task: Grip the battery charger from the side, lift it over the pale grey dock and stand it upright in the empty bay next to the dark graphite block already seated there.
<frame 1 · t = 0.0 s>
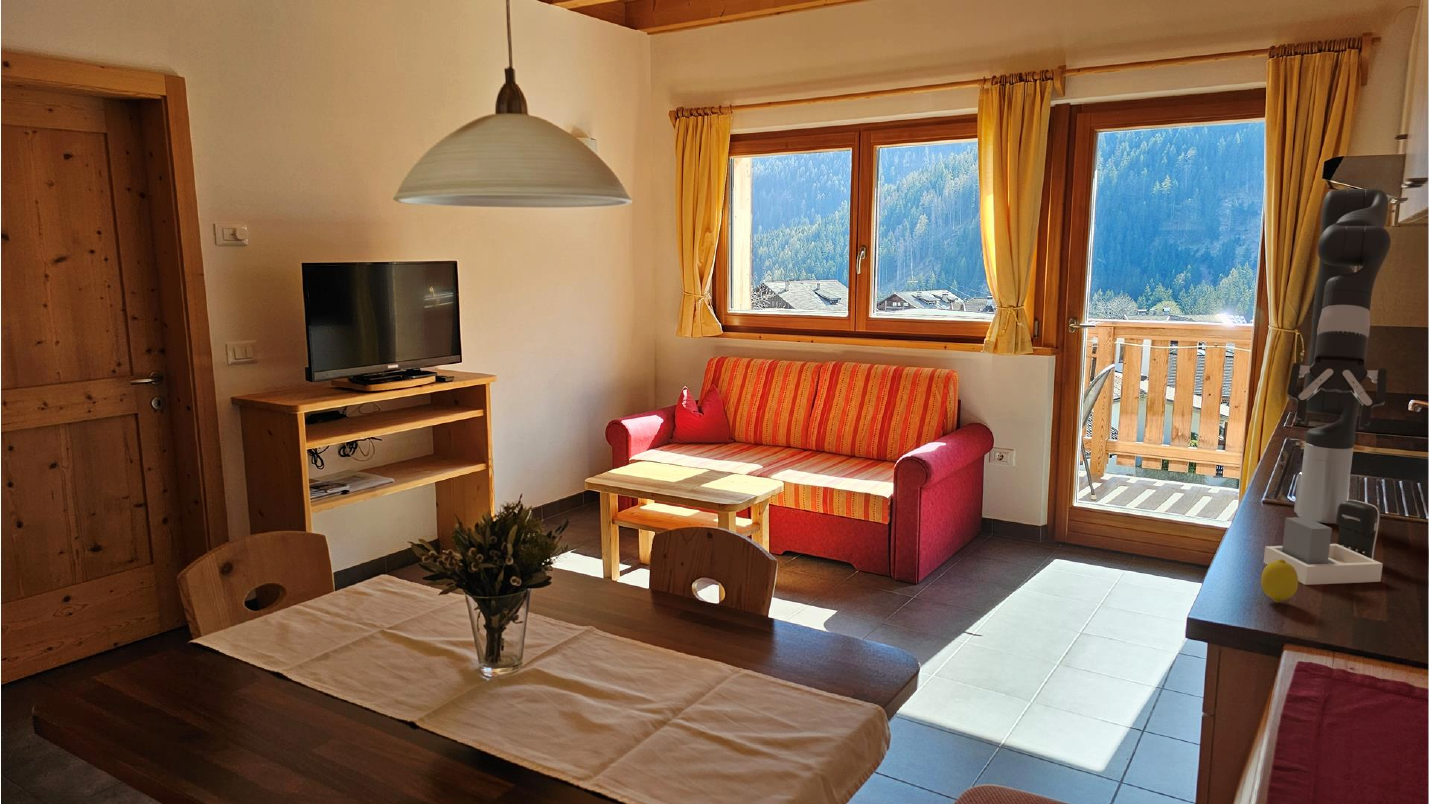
hand: (1331, 425, 163), 31 cm above the table, tool tilted 20°, fingers open, 8 cm apart
dock: (1336, 571, 181), on the table
battery charger: (1351, 558, 189), on the table
lemon: (1276, 603, 166), on the table
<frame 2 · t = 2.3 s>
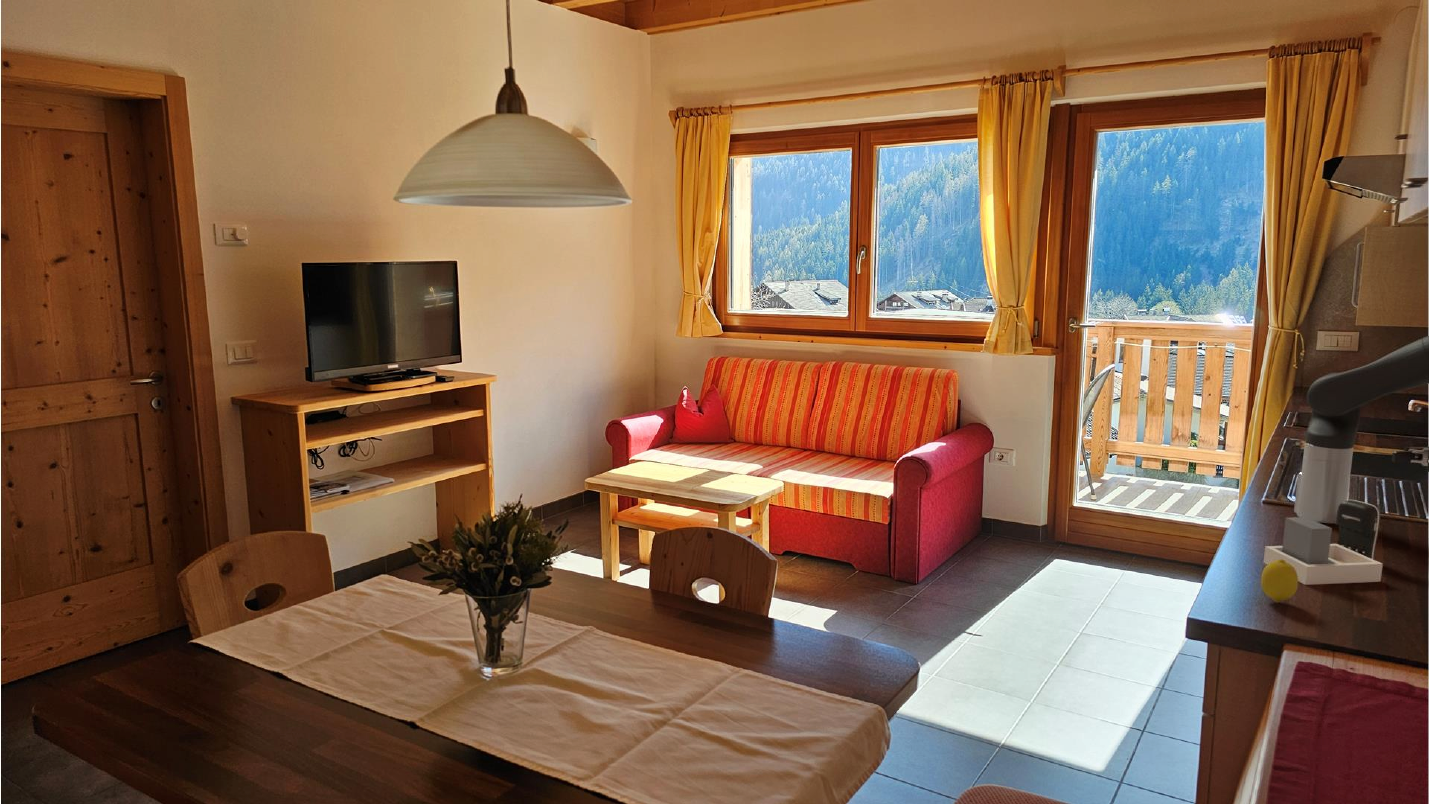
hand: (1410, 461, 187), 20 cm above the table, tool horizontal, fingers open, 8 cm apart
nothing on the table moved.
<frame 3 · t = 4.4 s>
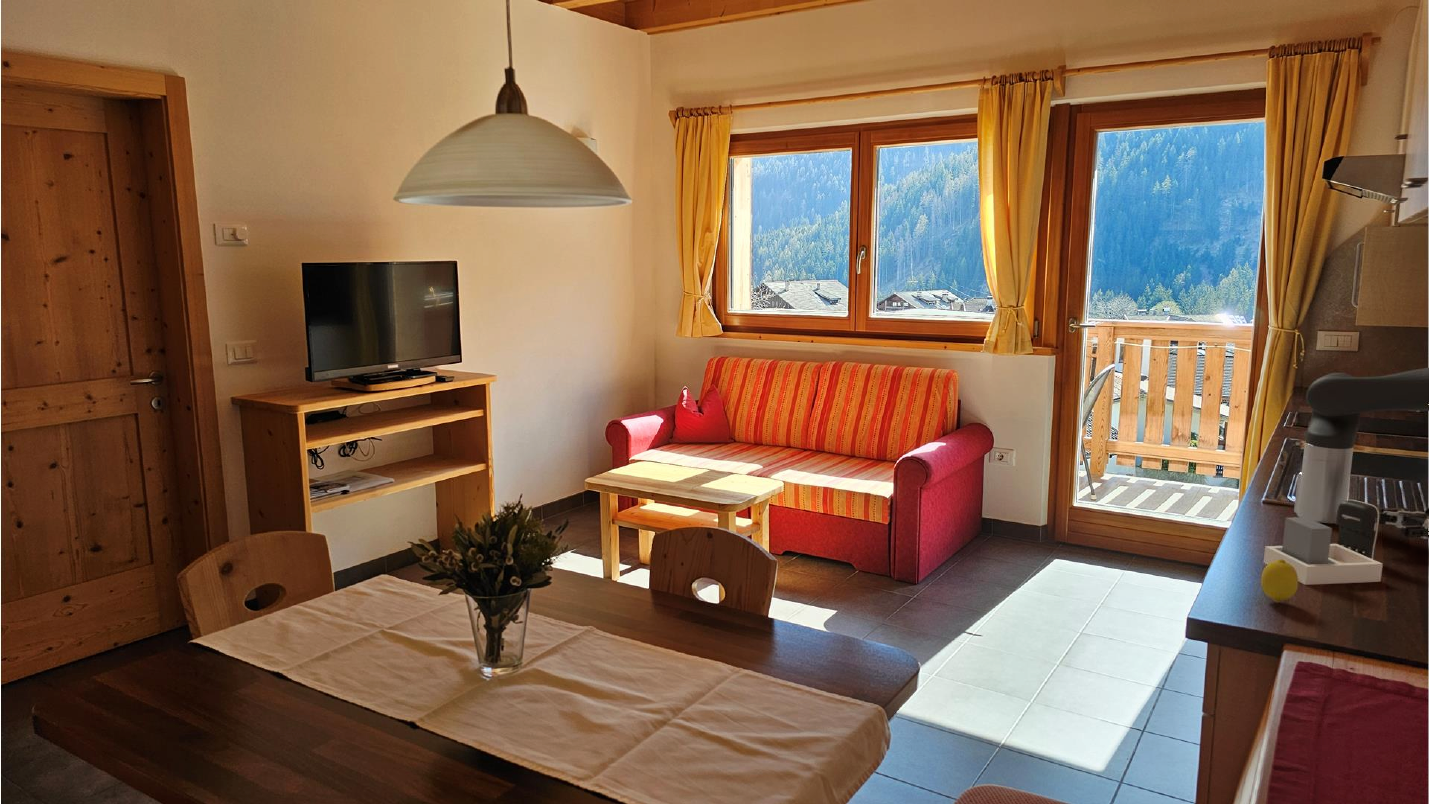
hand: (1385, 525, 189), 7 cm above the table, tool horizontal, fingers open, 8 cm apart
nothing on the table moved.
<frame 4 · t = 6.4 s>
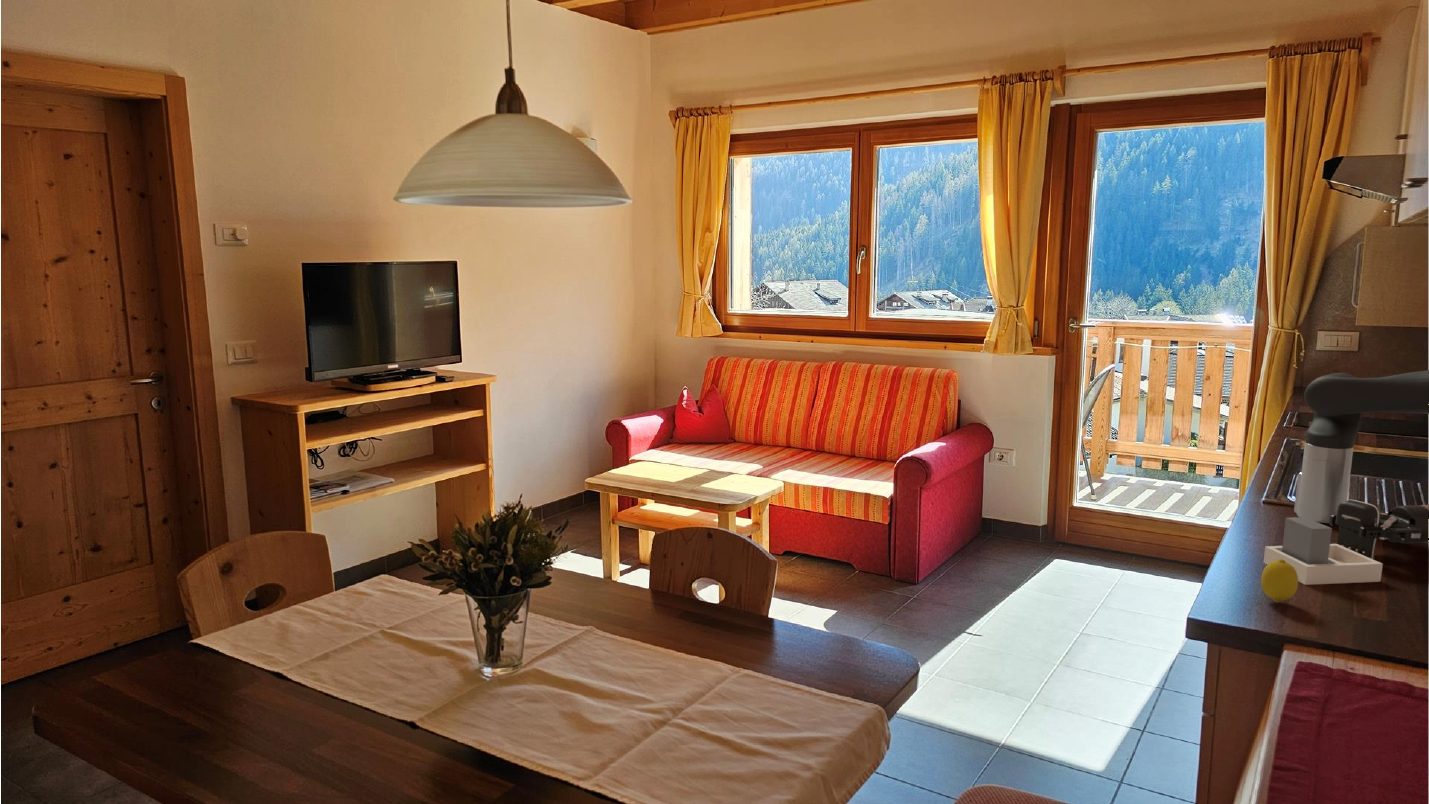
hand: (1345, 526, 188), 7 cm above the table, tool horizontal, fingers closed on battery charger, 7 cm apart
battery charger: (1351, 558, 189), on the table, touching gripper
everything else where it was.
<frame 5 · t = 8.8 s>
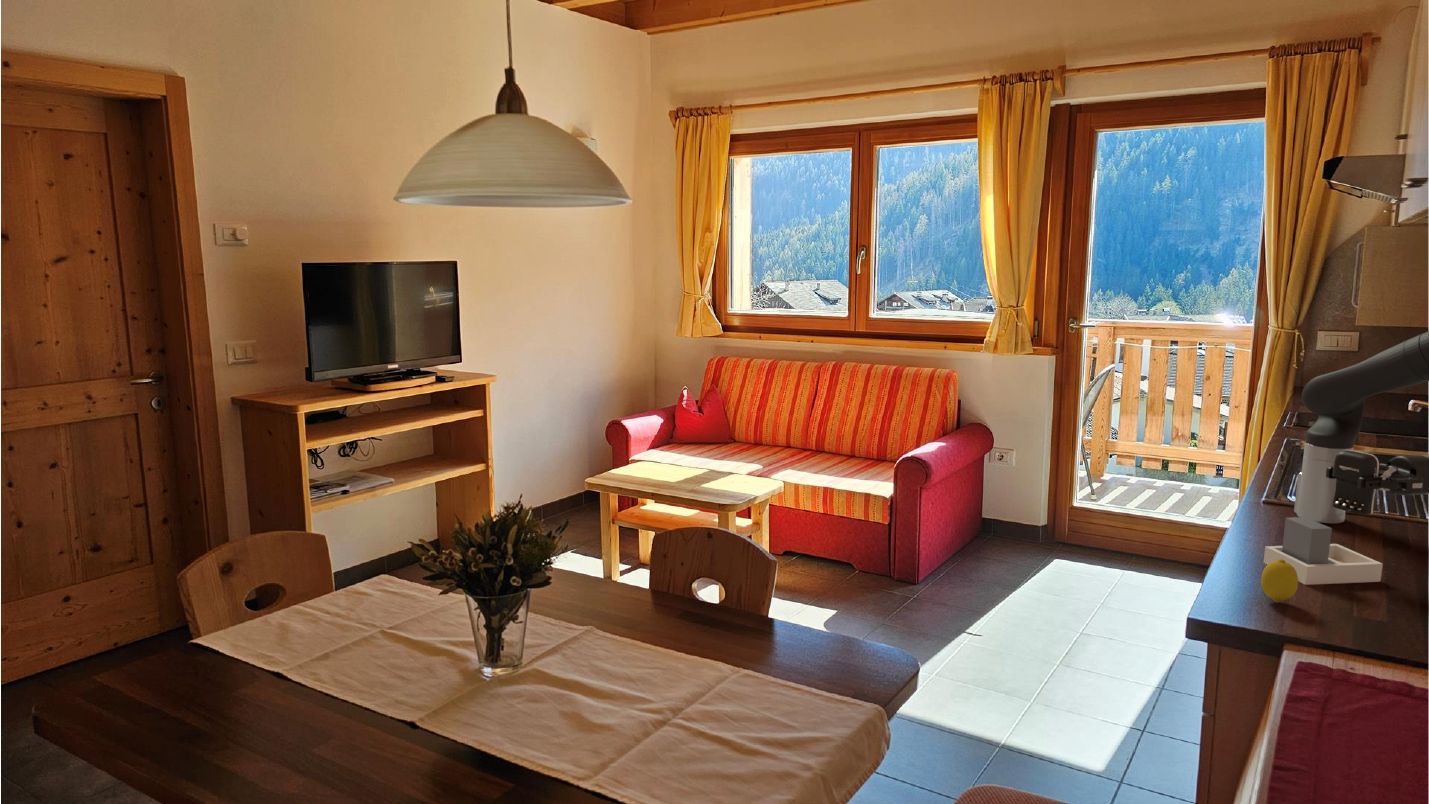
hand: (1343, 478, 178), 19 cm above the table, tool horizontal, fingers closed on battery charger, 7 cm apart
battery charger: (1349, 512, 179), point 12 cm above the table, touching gripper
everything else where it was.
when the fingers open (9 cm above the table, at t = 11.4 s): battery charger stays where it is, resting on dock.
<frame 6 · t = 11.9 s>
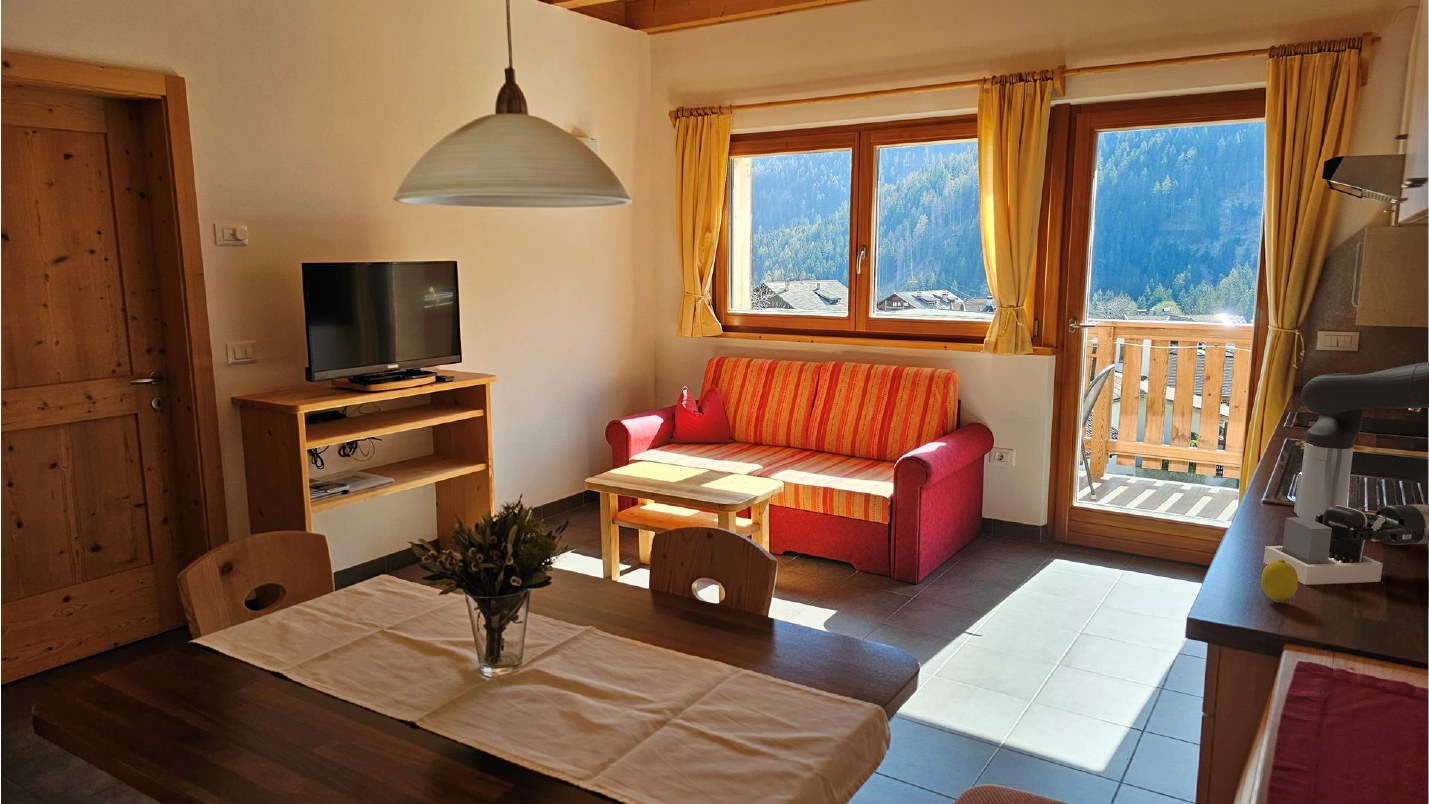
hand: (1333, 527, 179), 9 cm above the table, tool horizontal, fingers open, 8 cm apart
battery charger: (1338, 566, 181), point 1 cm above the table, touching dock
everything else where it was.
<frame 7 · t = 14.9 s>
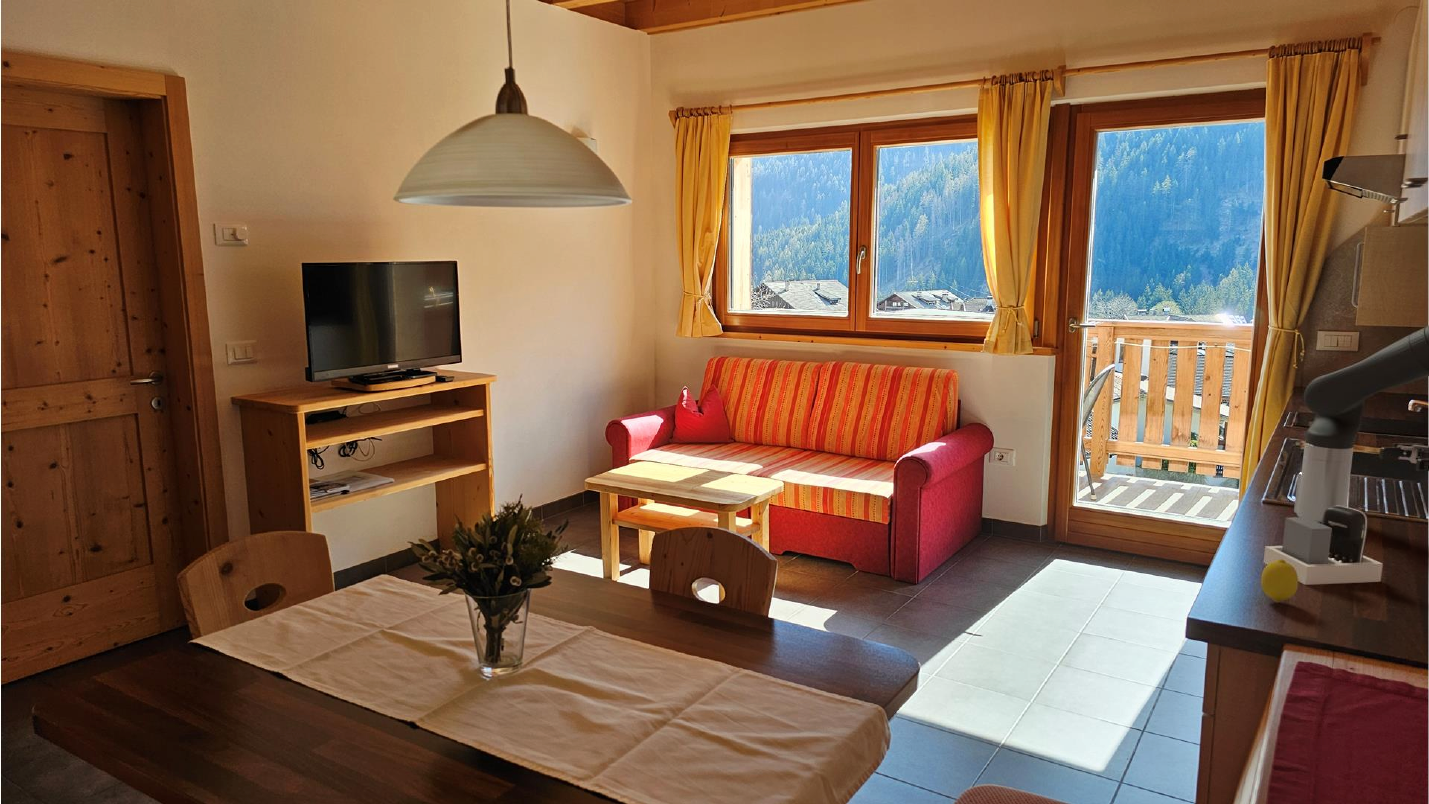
hand: (1399, 458, 179), 22 cm above the table, tool horizontal, fingers open, 8 cm apart
nothing on the table moved.
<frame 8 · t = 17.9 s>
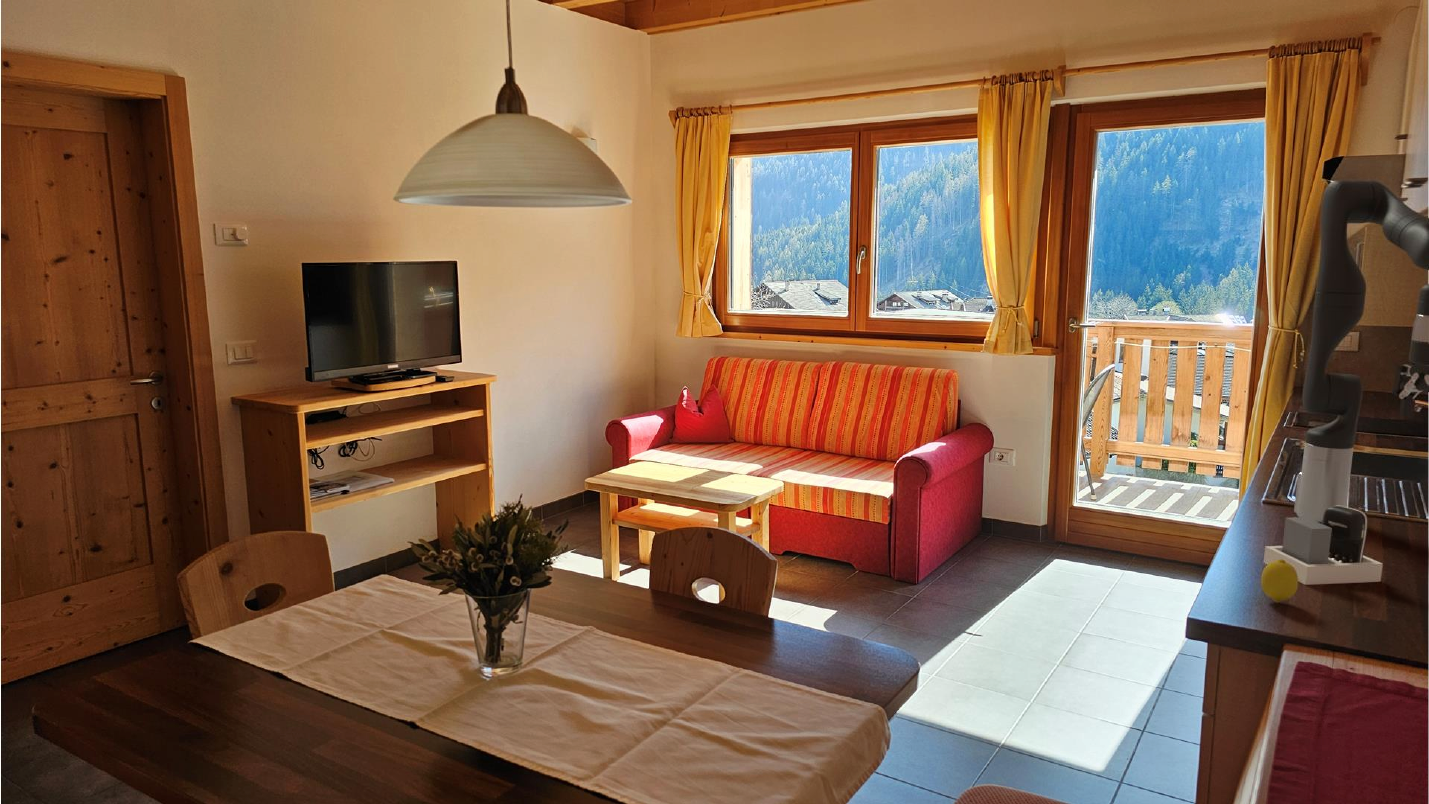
hand: (1424, 422, 182), 28 cm above the table, tool pointing down, fingers open, 8 cm apart
nothing on the table moved.
at the end: battery charger 0.2 cm off-centre on the dock, point 1.0 cm above the dock's base; battery charger tilted 0°; the gripper is holding nothing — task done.
